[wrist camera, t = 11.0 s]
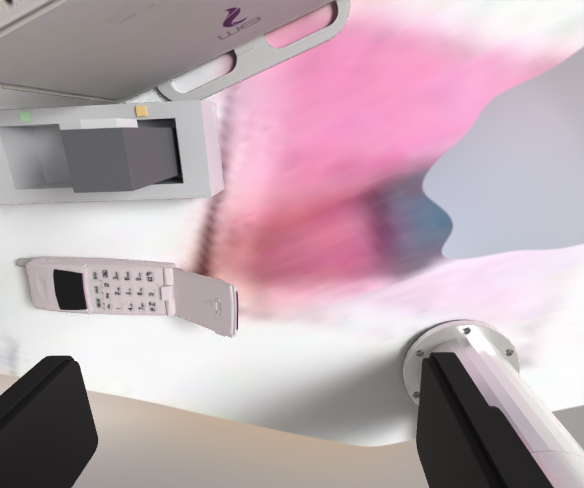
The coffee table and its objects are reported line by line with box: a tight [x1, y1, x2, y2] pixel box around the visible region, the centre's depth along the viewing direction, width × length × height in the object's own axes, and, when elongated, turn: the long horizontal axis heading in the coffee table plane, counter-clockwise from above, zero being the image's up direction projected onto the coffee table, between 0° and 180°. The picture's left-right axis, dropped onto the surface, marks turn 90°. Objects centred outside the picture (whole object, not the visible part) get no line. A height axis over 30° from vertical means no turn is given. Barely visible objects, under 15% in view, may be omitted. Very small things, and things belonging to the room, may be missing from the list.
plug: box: [60, 118, 183, 193], centre depth 29 cm, size 5×4×12 cm
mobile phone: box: [17, 257, 238, 338], centre depth 38 cm, size 6×6×25 cm
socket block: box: [0, 100, 224, 205], centre depth 34 cm, size 8×20×5 cm, turn 93°
